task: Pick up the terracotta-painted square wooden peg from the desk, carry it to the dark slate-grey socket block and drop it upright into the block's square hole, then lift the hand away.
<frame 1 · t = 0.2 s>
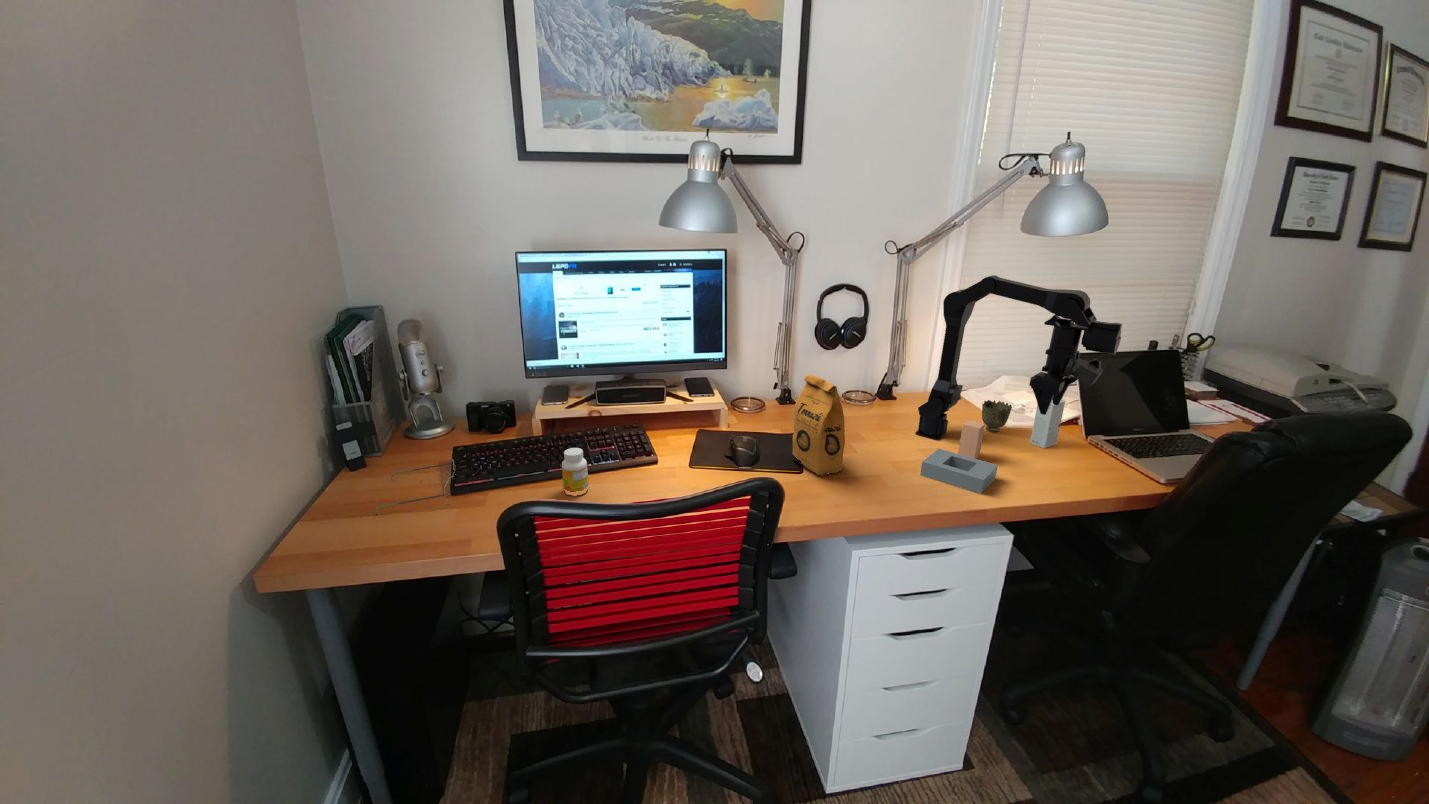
hand: (1049, 409, 143), 14 cm above the table, tool pointing down, fingers open, 9 cm apart
skincare box: (1042, 444, 160), on the table
socket block: (957, 476, 141), on the table
eyeglasses: (421, 495, 132), on the table
cup: (992, 431, 168), on the table
terracotta peg: (968, 456, 151), on the table
coffee package: (816, 466, 146), on the table
supplement bottle: (576, 492, 133), on the table
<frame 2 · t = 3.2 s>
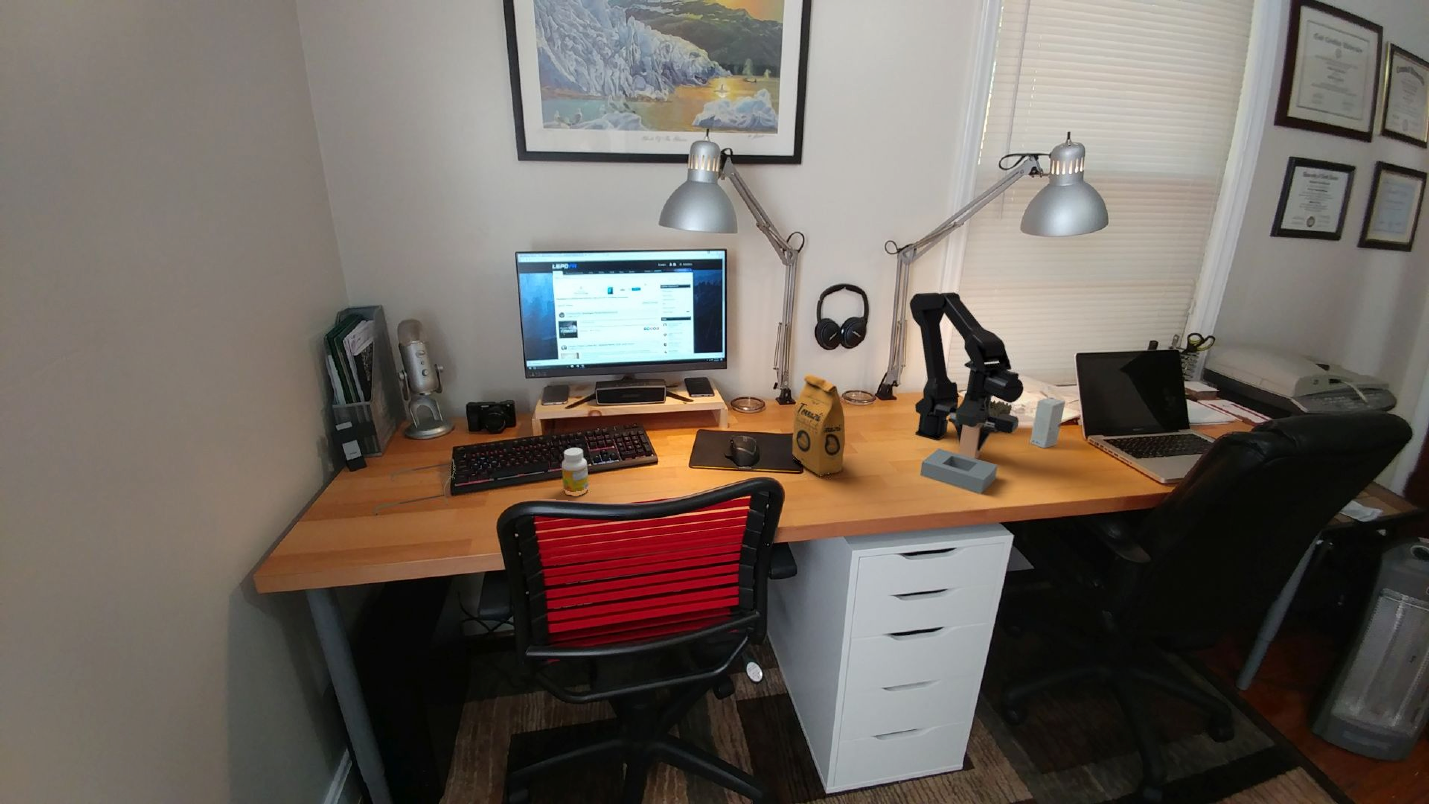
hand: (969, 447, 151), 3 cm above the table, tool pointing down, fingers closed on terracotta peg, 4 cm apart
terracotta peg: (968, 456, 151), on the table, touching gripper
everything else where it was.
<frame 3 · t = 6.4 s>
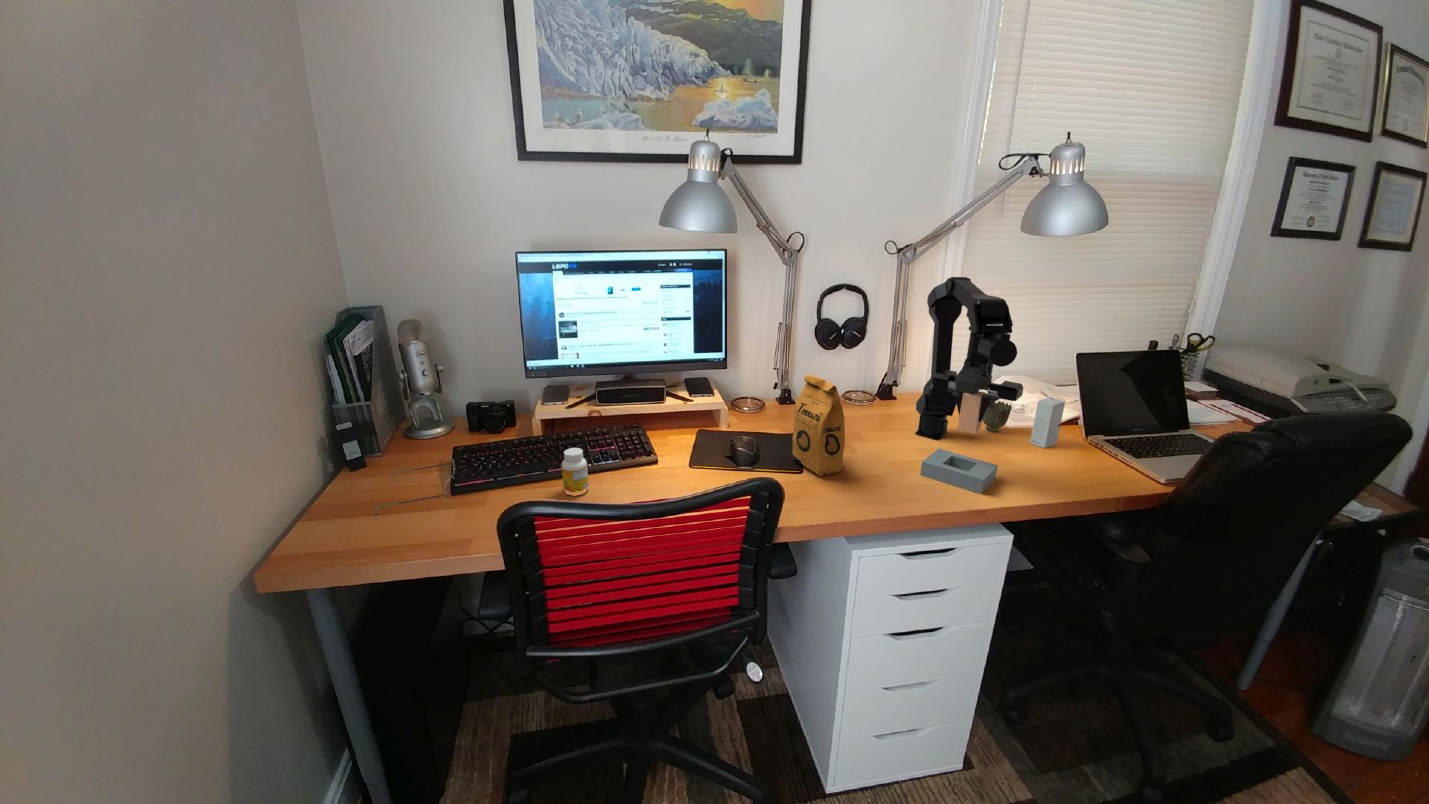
hand: (970, 419, 139), 13 cm above the table, tool pointing down, fingers closed on terracotta peg, 4 cm apart
terracotta peg: (968, 429, 140), point 11 cm above the table, touching gripper
everything else where it was.
when the fingers open (4 cm above the table, at t = 9.9 s): terracotta peg drops 2 cm, resting in socket block.
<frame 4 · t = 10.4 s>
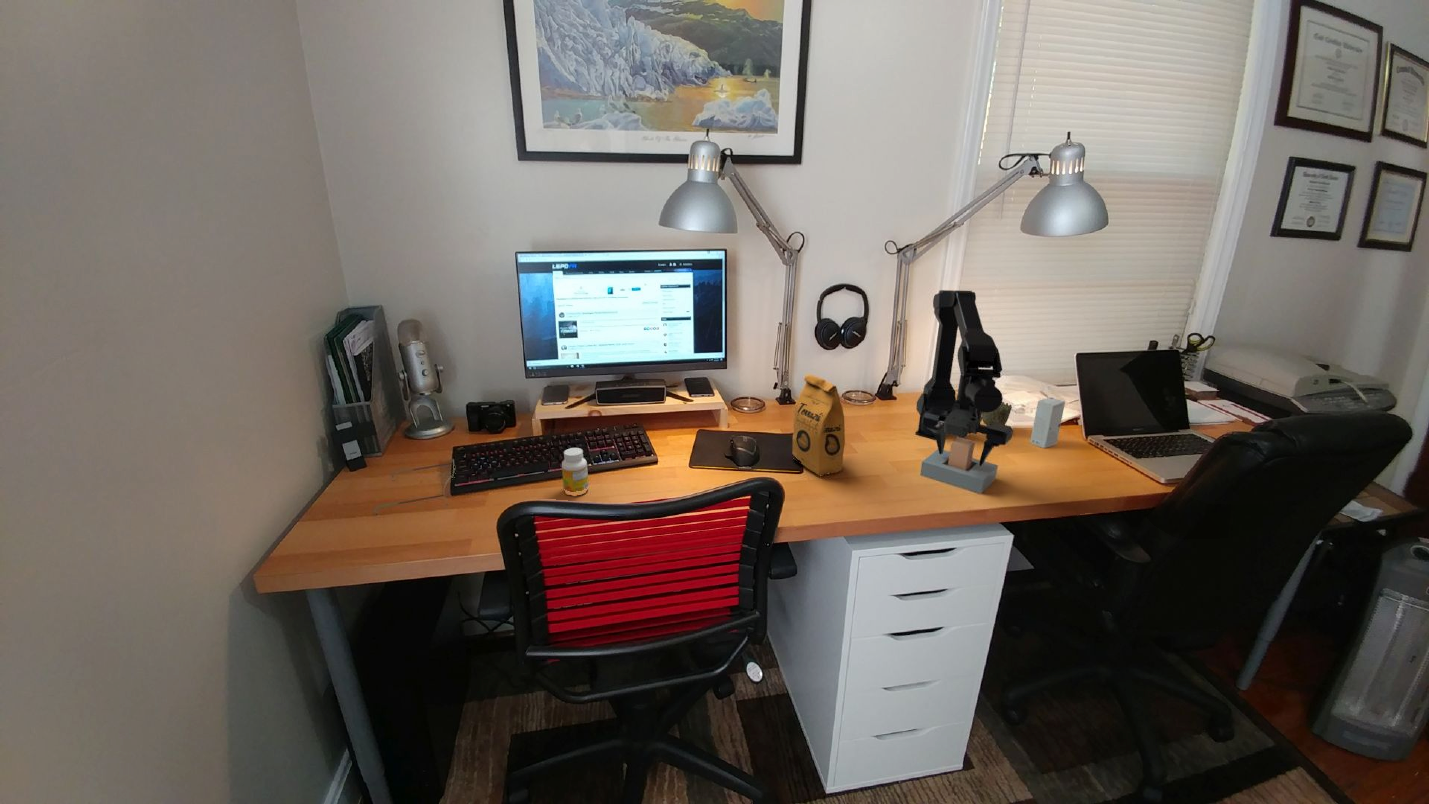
hand: (960, 459, 139), 4 cm above the table, tool pointing down, fingers open, 9 cm apart
terracotta peg: (957, 476, 141), resting in socket block
everything else where it was.
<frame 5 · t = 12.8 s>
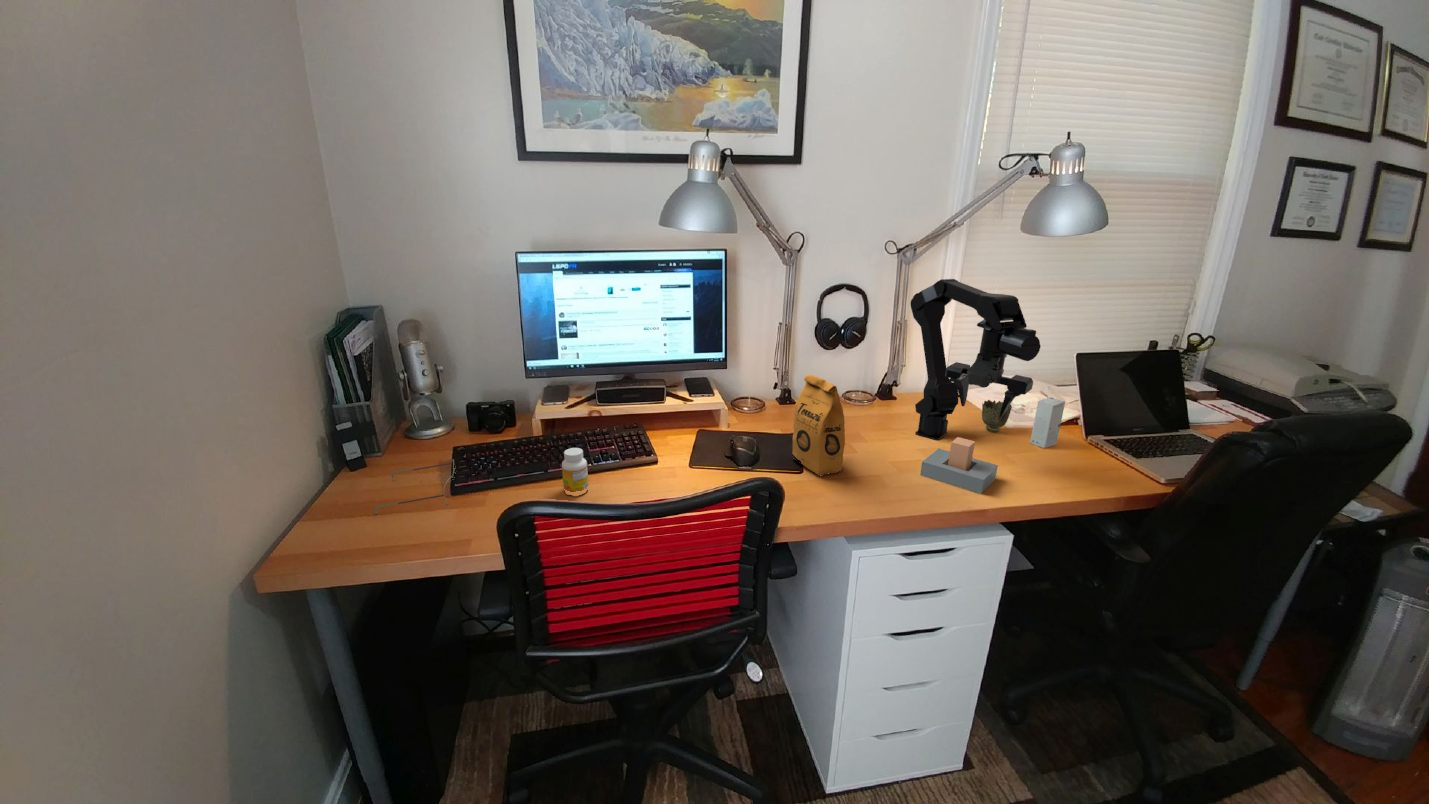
hand: (981, 410, 146), 13 cm above the table, tool pointing down, fingers open, 9 cm apart
nothing on the table moved.
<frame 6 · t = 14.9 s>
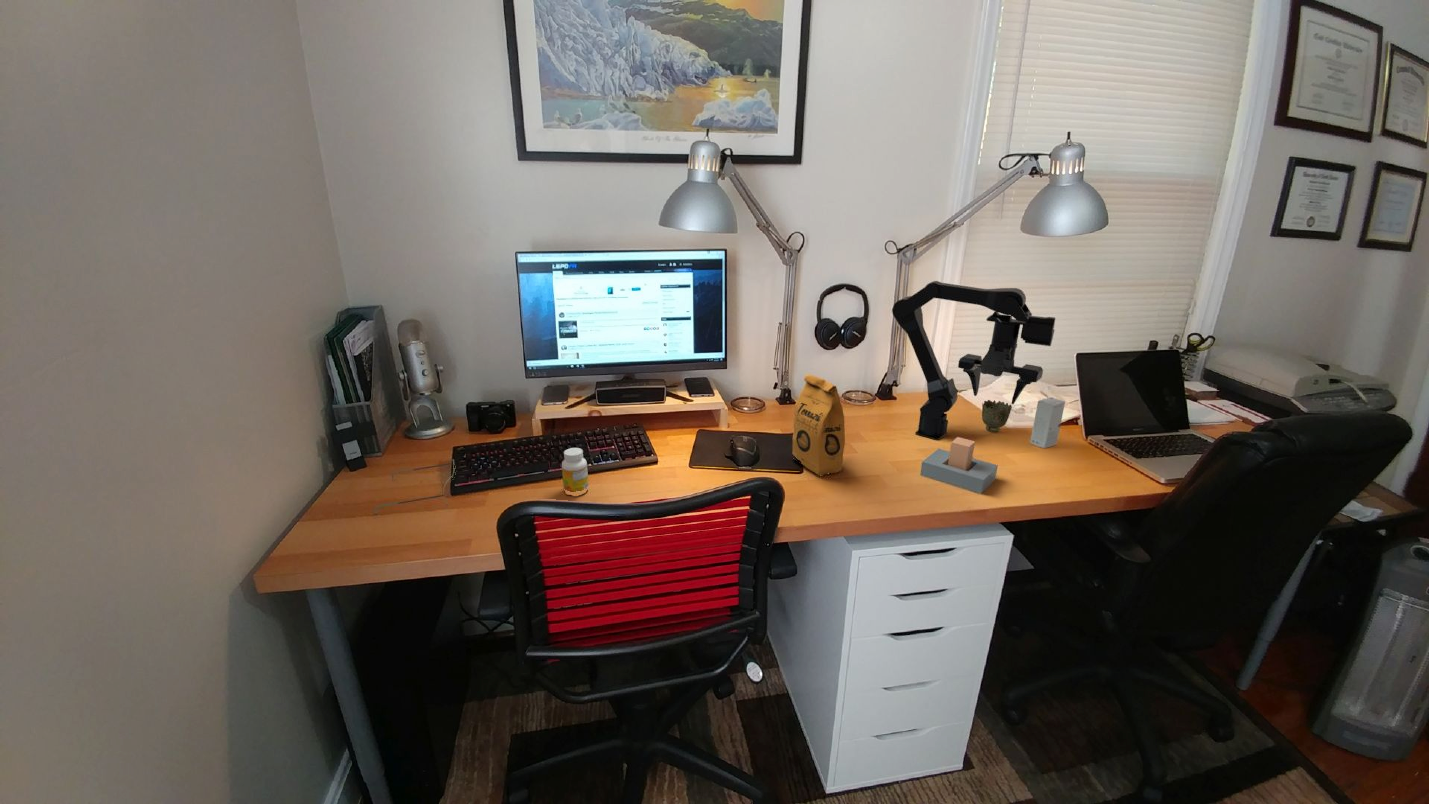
hand: (993, 399, 153), 13 cm above the table, tool pointing down, fingers open, 9 cm apart
nothing on the table moved.
at the end: terracotta peg 0.0 cm off-centre on the socket block, point 0.0 cm above the socket block's base; terracotta peg tilted 0°; the gripper is holding nothing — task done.
